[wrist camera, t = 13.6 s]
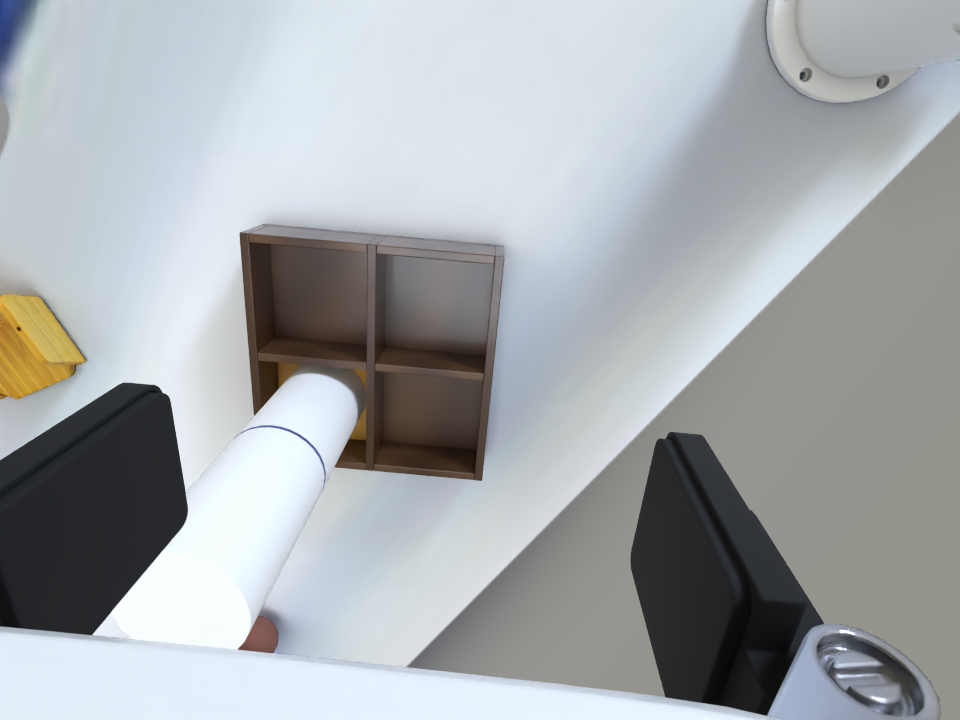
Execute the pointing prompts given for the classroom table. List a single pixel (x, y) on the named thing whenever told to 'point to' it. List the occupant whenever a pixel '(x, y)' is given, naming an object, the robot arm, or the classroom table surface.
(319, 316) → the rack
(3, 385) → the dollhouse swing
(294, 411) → the cylindrical container
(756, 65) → the classroom table surface
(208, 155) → the classroom table surface
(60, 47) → the classroom table surface
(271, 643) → the figurine character
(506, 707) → the robot arm
